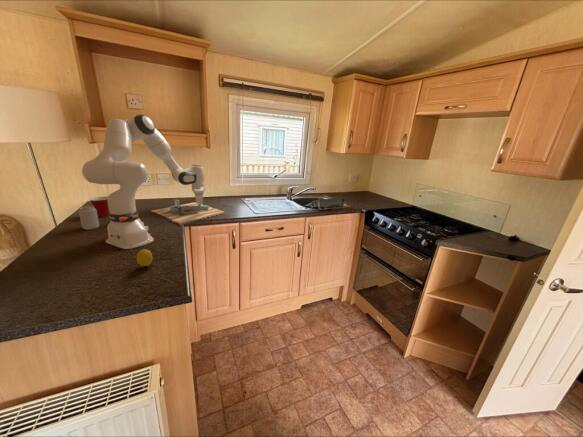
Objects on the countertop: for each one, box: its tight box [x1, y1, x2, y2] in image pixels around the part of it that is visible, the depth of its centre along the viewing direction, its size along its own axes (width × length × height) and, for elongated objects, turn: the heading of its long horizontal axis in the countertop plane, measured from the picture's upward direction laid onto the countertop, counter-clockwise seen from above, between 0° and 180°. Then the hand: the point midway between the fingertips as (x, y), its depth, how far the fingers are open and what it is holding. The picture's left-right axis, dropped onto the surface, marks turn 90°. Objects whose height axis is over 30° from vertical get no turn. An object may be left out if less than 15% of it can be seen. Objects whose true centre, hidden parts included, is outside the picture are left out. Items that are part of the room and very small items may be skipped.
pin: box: [173, 198, 181, 208], centre depth 166 cm, size 3×3×8 cm
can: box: [78, 205, 100, 231], centre depth 132 cm, size 8×8×12 cm
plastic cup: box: [88, 195, 109, 218], centre depth 151 cm, size 11×11×12 cm
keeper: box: [178, 206, 190, 215], centre depth 161 cm, size 4×7×5 cm, turn 145°
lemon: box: [136, 248, 153, 267], centre depth 99 cm, size 6×6×8 cm
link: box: [169, 204, 209, 213], centre depth 170 cm, size 24×9×2 cm, turn 114°
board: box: [152, 201, 225, 226], centre depth 169 cm, size 34×34×2 cm
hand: (199, 206), depth 175 cm, fingers closed
